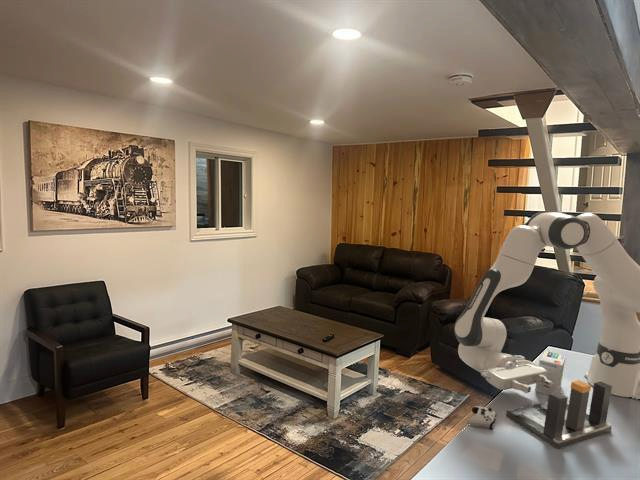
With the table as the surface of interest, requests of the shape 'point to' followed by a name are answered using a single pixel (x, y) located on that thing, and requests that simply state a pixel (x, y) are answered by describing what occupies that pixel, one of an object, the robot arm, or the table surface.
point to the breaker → (577, 405)
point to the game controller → (482, 417)
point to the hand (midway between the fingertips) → (540, 387)
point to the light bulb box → (551, 371)
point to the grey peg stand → (552, 418)
